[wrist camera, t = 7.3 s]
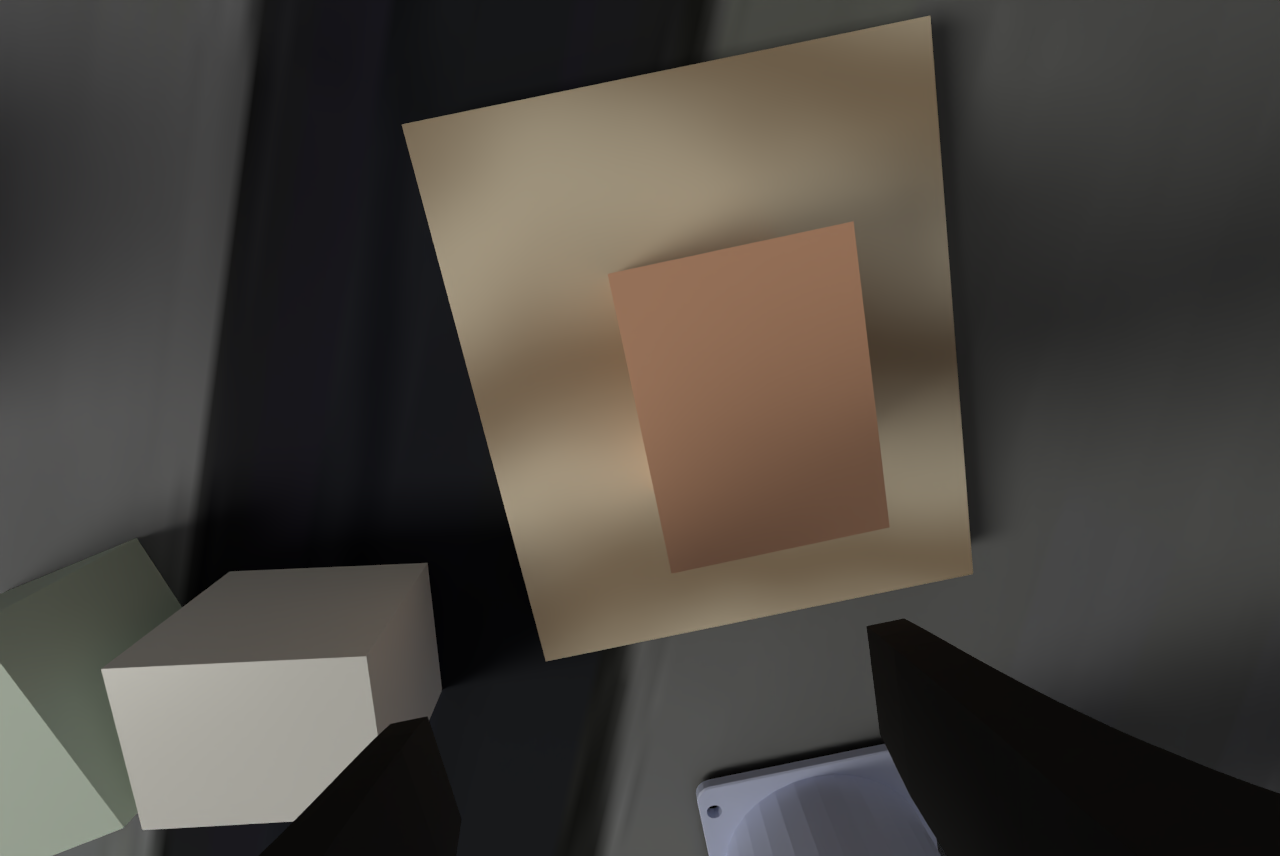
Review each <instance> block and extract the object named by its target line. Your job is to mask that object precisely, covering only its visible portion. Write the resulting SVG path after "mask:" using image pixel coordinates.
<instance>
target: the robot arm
mask: <svg viewBox="0 0 1280 856" xmlns="http://www.w3.org/2000/svg"><path fill="white" fill-rule="evenodd" d="M867 633H868V641H869V649H870V657H871V665H872V673H873V681H874V689H875V697H876V705H877V713H878V721H879V729H880V734H881V736H882V739H883V741H884V743H885V744H880V745H876V746H871V747H866V748H861V749H856V750H851V751H846V752H841V753H836V754H832V755H827V756H822V757H817V758H812V759H807V760H802V761H797V762H792V763H788V764H783V765H778V766H773V767H768V768H763V769H758V770H753V771H748V772H744V773H739V774H734V775H729V776H724V777H719V778H714V779H709V780H706V781H703V782H702V783H701V784H699V785H698V787H697V789H696V797H697V803H698V807H699V812H700V817H701V821H702V826H703V831H704V835H705V840H706V845H707V849H708V854H709V856H941V855H940V853H939V851H938V847H937V840H938V842H939V844H940V845H941V847H942V848H943V850H944V852H945V853H946V855H947V856H1280V794H1279V793H1276V792H1273V791H1270V790H1268V789H1265V788H1262V787H1259V786H1256V785H1253V784H1250V783H1248V782H1245V781H1242V780H1240V779H1237V778H1234V777H1232V776H1229V775H1226V774H1224V773H1221V772H1218V771H1216V770H1213V769H1210V768H1208V767H1205V766H1203V765H1200V764H1198V763H1195V762H1193V761H1191V760H1188V759H1186V758H1183V757H1181V756H1178V755H1176V754H1173V753H1171V752H1168V751H1166V750H1164V749H1161V748H1159V747H1156V746H1154V745H1151V744H1149V743H1146V742H1144V741H1142V740H1139V739H1137V738H1135V737H1132V736H1130V735H1128V734H1126V733H1123V732H1121V731H1119V730H1117V729H1114V728H1112V727H1110V726H1108V725H1106V724H1104V723H1101V722H1099V721H1097V720H1095V719H1093V718H1091V717H1089V716H1087V715H1085V714H1082V713H1080V712H1078V711H1076V710H1074V709H1072V708H1070V707H1068V706H1066V705H1064V704H1061V703H1059V702H1057V701H1055V700H1053V699H1051V698H1050V697H1048V696H1046V695H1044V694H1042V693H1040V692H1038V691H1036V690H1034V689H1032V688H1030V687H1028V686H1026V685H1024V684H1022V683H1020V682H1018V681H1016V680H1015V679H1013V678H1011V677H1009V676H1007V675H1005V674H1003V673H1002V672H1000V671H998V670H996V669H994V668H992V667H991V666H989V665H987V664H985V663H983V662H981V661H980V660H978V659H976V658H974V657H972V656H971V655H969V654H967V653H965V652H964V651H962V650H960V649H958V648H956V647H955V646H953V645H951V644H949V643H948V642H946V641H944V640H942V639H940V638H939V637H937V636H935V635H933V634H932V633H930V632H928V631H926V630H924V629H923V628H921V627H919V626H917V625H915V624H913V623H912V622H910V621H908V620H906V619H900V620H895V621H890V622H885V623H880V624H875V625H870V626H867ZM713 805H717V806H718V807H716V808H709V807H711V806H713ZM460 825H461V816H460V813H459V810H458V807H457V804H456V801H455V798H454V795H453V792H452V789H451V786H450V783H449V780H448V777H447V774H446V771H445V768H444V765H443V762H442V759H441V756H440V753H439V750H438V746H437V743H436V740H435V737H434V734H433V731H432V728H431V725H430V722H429V719H428V716H426V717H421V718H416V719H411V720H406V721H402V722H397V723H392V724H390V725H389V726H388V727H387V728H385V729H384V730H383V731H382V732H381V733H380V734H379V735H378V736H377V737H376V738H375V739H374V740H373V741H372V742H371V743H370V744H369V745H368V746H367V747H366V748H365V749H364V750H363V751H362V752H361V753H360V754H359V755H358V756H357V757H356V758H355V759H354V760H353V761H352V762H351V763H350V764H349V765H348V766H347V767H346V768H345V769H344V770H343V771H342V772H341V773H340V774H339V775H338V776H337V777H336V778H335V779H334V781H333V782H332V783H331V784H330V785H329V786H328V787H327V788H326V789H325V790H324V791H323V792H322V793H321V794H320V795H319V796H318V797H317V798H316V799H315V800H314V801H313V802H312V803H311V804H310V805H309V806H308V807H307V808H306V809H305V810H304V811H303V812H302V813H301V814H300V815H299V816H298V817H297V818H296V819H295V821H294V822H293V823H292V824H291V825H290V826H289V827H288V828H287V829H286V830H285V831H284V832H283V833H282V834H281V835H280V836H279V837H278V838H277V839H276V840H275V841H274V842H273V843H271V844H270V845H269V846H268V847H267V848H266V849H265V850H264V851H263V852H262V853H261V854H260V855H259V856H456V853H457V846H458V839H459V832H460Z"/></svg>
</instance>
